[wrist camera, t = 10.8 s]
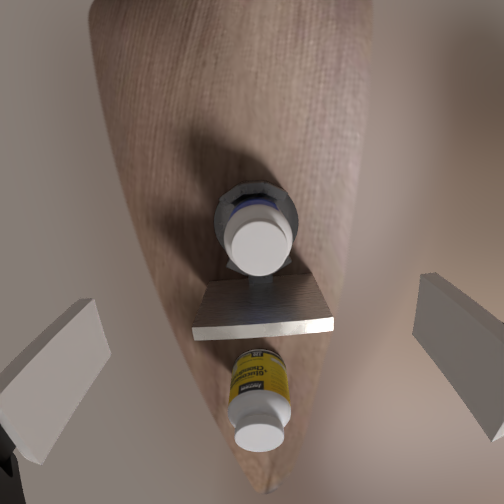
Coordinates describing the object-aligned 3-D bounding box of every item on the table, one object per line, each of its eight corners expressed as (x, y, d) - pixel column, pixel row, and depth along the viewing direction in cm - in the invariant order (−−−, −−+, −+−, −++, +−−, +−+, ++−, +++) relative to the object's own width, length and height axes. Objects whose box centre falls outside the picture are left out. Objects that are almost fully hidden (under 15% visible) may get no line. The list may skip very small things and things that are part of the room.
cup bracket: (197, 186, 30) (171, 196, 21) (308, 177, 30) (331, 183, 20) (210, 291, 33) (194, 340, 24) (312, 283, 33) (332, 330, 23)
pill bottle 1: (218, 220, 31) (202, 246, 21) (259, 184, 30) (261, 193, 20) (255, 259, 32) (254, 300, 22) (295, 225, 31) (313, 252, 21)
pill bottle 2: (276, 340, 35) (283, 409, 24) (291, 379, 37) (301, 448, 25) (224, 354, 36) (213, 424, 24) (243, 391, 37) (239, 461, 26)
